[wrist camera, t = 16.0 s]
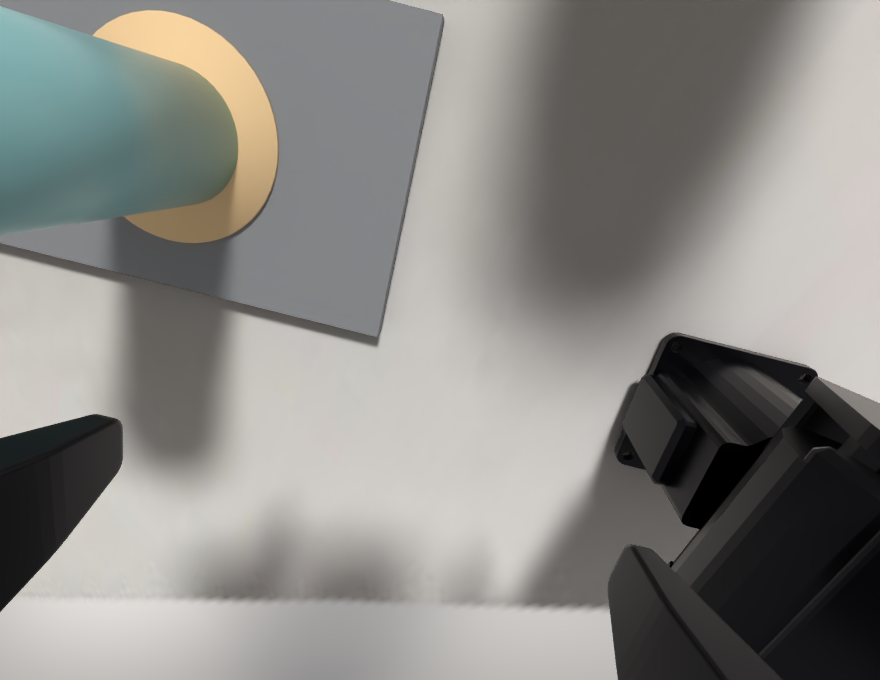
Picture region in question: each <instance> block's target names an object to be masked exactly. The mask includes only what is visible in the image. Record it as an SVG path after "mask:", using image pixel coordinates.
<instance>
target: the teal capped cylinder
mask: <svg viewBox="0 0 880 680" xmlns="http://www.w3.org/2000/svg"><path fill="white" fill-rule="evenodd" d="M237 159H238V136H237V130H236V126H235V122H234V120H233V117H232V114H231V112H230V110H229V108H228V106H227V104H226V102H225V101H224V99H223V98H222V96H221V95H220V93H219V92H218V91H217V90H216V88H215V87H214V86H213V85H212V84H211V83H210V82H209V81H208V80H207V79H206V78H204V77H203V76H202V75H200V74H199V73H197V72H196V71H194V70H193V69H191V68H189V67H186V66H184V65H182V64H179V63H176V62H173V61H170V60H166V59H163V58H160V57H157V56H154V55H151V54H148V53H145V52H142V51H138V50H135V49H132V48H129V47H126V46H123V45H120V44H117V43H114V42H110V41H107V40H104V39H101V38H98V37H95V36H92V35H89V34H86V33H82V32H79V31H76V30H73V29H70V28H67V27H64V26H61V25H58V24H54V23H51V22H48V21H45V20H42V19H39V18H36V17H33V16H30V15H26V14H23V13H20V12H17V11H14V10H11V9H8V8H5V7H2V6H0V236H2V235H9V234H15V233H21V232H27V231H34V230H40V229H46V228H52V227H59V226H65V225H71V224H77V223H84V222H90V221H96V220H102V219H109V218H115V217H121V216H127V215H134V214H140V213H146V212H152V211H159V210H165V209H171V208H177V207H184V206H190V205H196V204H200V203H203V202H206V201H208V200H210V199H212V198H214V197H215V196H216V195H218V194H219V193H220V192H221V191H222V190H223V189H224V188H225V187H226V185H227V184H228V183H229V181H230V179H231V177H232V175H233V173H234V170H235V168H236V163H237Z"/></svg>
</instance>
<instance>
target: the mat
mask: <svg viewBox="0 0 880 680" xmlns="http://www.w3.org/2000/svg"><path fill="white" fill-rule="evenodd" d="M0 6H2V7H5V8H8V9H11V10H14V11H17V12H20V13H23V14H26V15H30V16H33V17H36V18H39V19H42V20H45V21H48V22H51V23H54V24H58V25H61V26H64V27H67V28H70V29H73V30H76V31H79V32H82V33H86V34H89V35H92V36H95V37H98V38H101V39H104V40H107V41H110V42H114V43H117V44H120V45H123V46H126V47H129V48H132V49H135V50H138V51H142V52H145V53H148V54H151V55H154V56H157V57H160V58H163V59H166V60H170V61H173V62H176V63H179V64H182V65H184V66H186V67H189V68H191V69H193V70H194V71H196V72H197V73H199V74H200V75H202V76H203V77H204V78H206V79H207V80H208V81H209V82H210V83H211V84H212V85H213V86H214V87H215V88H216V90H217V91H218V92H219V93H220V95H221V96H222V98H223V99H224V101H225V102H226V104H227V106H228V108H229V110H230V112H231V114H232V117H233V120H234V122H235V126H236V130H237V136H238V159H237V163H236V168H235V170H234V173H233V175H232V177H231V179H230V181H229V183H228V184H227V185H226V187H225V188H224V189H223V190H222V191H221V192H220V193H219V194H218V195H216V196H215V197H214V198H212V199H210V200H208V201H206V202H203V203H200V204H196V205H190V206H184V207H177V208H171V209H165V210H159V211H152V212H146V213H140V214H134V215H127V216H121V217H115V218H109V219H102V220H96V221H90V222H84V223H77V224H71V225H65V226H59V227H52V228H46V229H40V230H34V231H27V232H21V233H15V234H9V235H2V236H0V243H2V244H6V245H10V246H14V247H18V248H22V249H26V250H30V251H34V252H38V253H42V254H46V255H50V256H54V257H58V258H62V259H66V260H70V261H74V262H78V263H82V264H86V265H90V266H94V267H98V268H102V269H106V270H110V271H114V272H118V273H122V274H126V275H130V276H134V277H138V278H142V279H146V280H150V281H154V282H158V283H162V284H166V285H170V286H174V287H178V288H182V289H186V290H190V291H194V292H198V293H202V294H206V295H210V296H214V297H218V298H222V299H226V300H230V301H234V302H238V303H242V304H246V305H250V306H254V307H258V308H262V309H266V310H270V311H274V312H278V313H282V314H286V315H290V316H294V317H298V318H302V319H306V320H310V321H314V322H318V323H322V324H326V325H330V326H334V327H338V328H342V329H346V330H350V331H354V332H358V333H362V334H366V335H370V336H374V337H378V335H379V333H380V331H381V327H382V322H383V317H384V312H385V307H386V303H387V298H388V293H389V288H390V283H391V278H392V273H393V269H394V264H395V259H396V254H397V249H398V244H399V239H400V235H401V230H402V225H403V220H404V215H405V210H406V205H407V201H408V196H409V191H410V186H411V181H412V176H413V171H414V166H415V162H416V157H417V152H418V147H419V142H420V137H421V132H422V128H423V123H424V118H425V113H426V108H427V103H428V98H429V94H430V89H431V84H432V79H433V74H434V69H435V64H436V59H437V55H438V50H439V45H440V40H441V35H442V30H443V25H444V17H443V14H439V13H435V12H432V11H428V10H424V9H420V8H416V7H412V6H409V5H405V4H401V3H397V2H393V1H389V0H0Z"/></svg>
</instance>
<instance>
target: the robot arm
mask: <svg viewBox="0 0 880 680" xmlns="http://www.w3.org/2000/svg"><path fill="white" fill-rule="evenodd" d="M677 341H680V346H679V347H678V348H676V349H671V347H672V345H673V343H675V342H677ZM803 374H805V377H804V378H803V379H802V380H799V381H798V379H799V377H800V376H801V375H803ZM622 426H623V428H624V429H623V432H622V434H621V436H620V438H619V441H618V443H617V445H616V448H615V455H616V457H617V459H618V461H619V462H620V463H622V464H624V465H628V466H632V467H636V468H640V469H644V470H647V472H648V474H649V476H650V478H651V479H652V481H653V483H655V484H658V485H661V486H662V488H663V489H664V491H665V493H666V495H667V496H668V498H669V500H670V502H671V504H672V505H673V507H674V509H675V511H676V512H677V514H678V516H679V518H680V519H681V521H682V523H683V524H684V525H686V526H689V527H693V528H697V529H699V531H698V532H697V533H696V535H695V536H694V537H693V538H692V540H691V541H690V542H689V543H688V545H687V546H686V547H685V548H684V550H683V551H682V552H681V553H680V555H679V556H678V557H677V558H676V560H675V561H674V562H673V561H670V562H669V563H668V565H667V564H666V563H665V562H664V561H663V560H662V559H661V558H660V557H659V556H658V555H657V554H656V553H655V552H654V551H653V550H651V549H649V548H645V547H641V546H637V545H632V544H630V545H627V546H626V547H625V548H624V549H623V551H622V553H621V555H620V557H619V559H618V561H617V563H616V565H615V567H614V569H613V571H612V573H611V575H610V578H609V582H608V598H609V607H610V615H611V624H612V633H613V642H614V651H615V659H616V668H617V675H618V680H880V403H878V402H875V401H873V400H871V399H868V398H866V397H864V396H861V395H859V394H857V393H854V392H852V391H850V390H847V389H845V388H843V387H840V386H838V385H836V384H833V383H831V382H829V381H826V380H824V379H822V378H819V377H818V374H817V372H816V371H815V370H813V369H812V368H810V367H809V366H807V365H804V364H800V363H796V362H792V361H788V360H784V359H780V358H776V357H772V356H768V355H765V354H761V353H757V352H753V351H749V350H745V349H741V348H737V347H733V346H729V345H725V344H721V343H717V342H713V341H709V340H705V339H701V338H697V337H693V336H689V335H685V334H681V333H671V334H669V335H667V336H666V337H665V338H664V340H663V341H662V343H661V346H660V348H659V350H658V352H657V355H656V357H655V359H654V362H653V364H652V366H651V368H650V371H649V373H648V374H647V375H645V376H644V377H642V378H641V381H640V383H639V385H638V387H637V390H636V392H635V394H634V397H633V399H632V401H631V403H630V406H629V408H628V410H627V413H626V415H625V417H624V419H623V422H622ZM626 451H631V453H630V454H628V455H623V453H624V452H626ZM122 460H123V428H122V424H121V422H120V421H119V420H118V419H115V418H111V417H107V416H103V415H98V414H93V415H89V416H85V417H81V418H77V419H73V420H69V421H65V422H61V423H58V424H54V425H50V426H46V427H42V428H38V429H34V430H30V431H27V432H23V433H19V434H15V435H11V436H7V437H3V438H0V612H1V611H2V609H3V608H4V607H5V606H6V605H7V604H8V603H9V602H10V601H11V600H12V599H13V598H14V597H15V596H16V594H17V593H18V592H19V591H20V590H21V589H22V588H23V587H24V586H25V585H26V584H27V583H28V582H29V580H30V579H31V578H32V577H33V576H34V575H35V574H36V573H37V572H38V571H39V570H40V569H41V568H42V566H43V565H44V564H45V563H46V562H47V561H48V560H49V559H50V558H51V556H52V555H53V554H54V553H55V552H56V551H57V550H58V549H59V547H60V546H61V545H62V544H63V542H64V541H65V540H66V539H67V538H68V536H69V535H70V534H71V532H72V531H73V530H74V528H75V527H76V526H77V525H78V523H79V522H80V521H81V519H82V518H83V517H84V516H85V514H86V513H87V512H88V510H89V509H90V508H91V506H92V505H93V504H94V503H95V501H96V500H97V499H98V497H99V496H100V495H101V493H102V492H103V491H104V490H105V488H106V487H107V486H108V484H109V483H110V482H111V481H112V479H113V478H114V477H115V475H116V474H117V472H118V471H119V469H120V467H121V464H122Z"/></svg>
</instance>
